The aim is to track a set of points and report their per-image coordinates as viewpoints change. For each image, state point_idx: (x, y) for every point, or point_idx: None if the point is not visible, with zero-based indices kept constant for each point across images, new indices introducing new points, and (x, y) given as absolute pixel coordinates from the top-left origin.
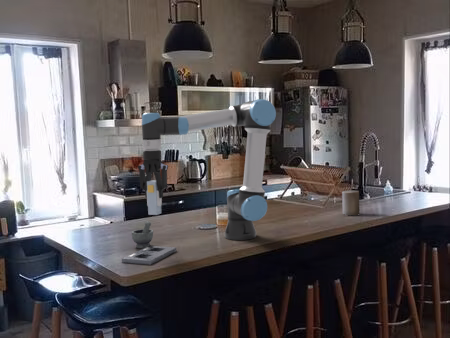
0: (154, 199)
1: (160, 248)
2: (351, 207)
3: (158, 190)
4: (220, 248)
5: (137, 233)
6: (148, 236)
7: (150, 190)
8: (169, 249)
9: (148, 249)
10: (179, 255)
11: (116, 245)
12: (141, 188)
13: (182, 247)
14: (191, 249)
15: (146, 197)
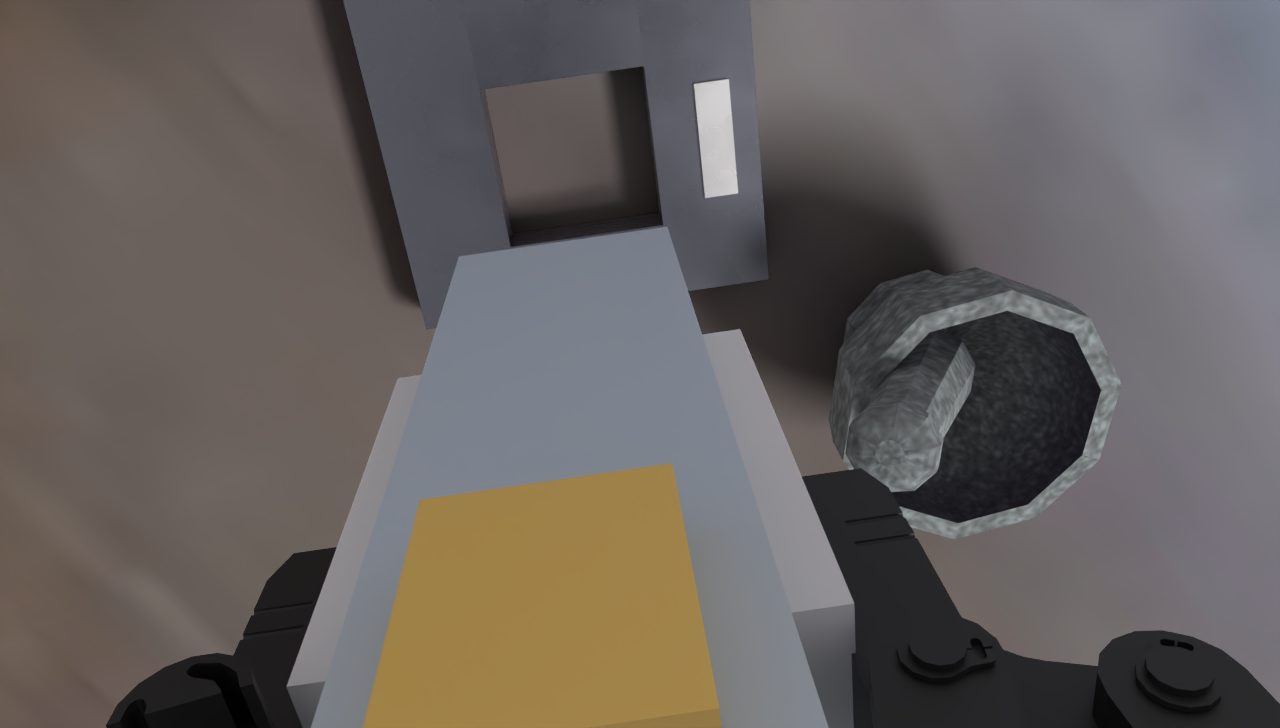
0: (461, 416)
1: (579, 235)
2: None
3: (194, 660)
4: (98, 563)
5: (981, 304)
6: (842, 363)
7: (538, 532)
8: (434, 224)
9: (674, 125)
10: (268, 176)
11: (1234, 257)
12: (1158, 631)
13: None
14: (335, 429)
15: (834, 475)
